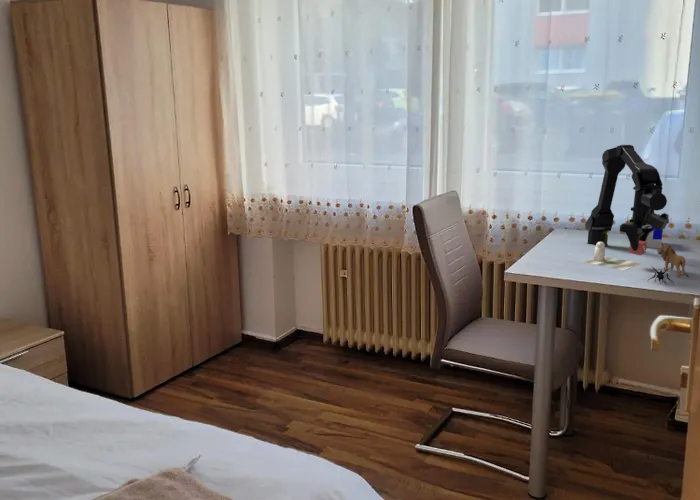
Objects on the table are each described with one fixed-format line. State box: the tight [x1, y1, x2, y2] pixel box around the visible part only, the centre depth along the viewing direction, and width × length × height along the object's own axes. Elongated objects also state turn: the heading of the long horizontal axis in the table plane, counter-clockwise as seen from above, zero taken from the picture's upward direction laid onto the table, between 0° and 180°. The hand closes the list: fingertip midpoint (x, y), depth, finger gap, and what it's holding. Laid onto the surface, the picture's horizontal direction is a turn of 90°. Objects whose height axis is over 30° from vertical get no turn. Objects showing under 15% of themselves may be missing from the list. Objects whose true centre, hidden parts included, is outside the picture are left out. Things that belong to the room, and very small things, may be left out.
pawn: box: [593, 242, 607, 261], centre depth 242 cm, size 4×4×7 cm
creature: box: [647, 265, 675, 286], centre depth 217 cm, size 8×5×8 cm
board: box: [584, 255, 641, 271], centre depth 239 cm, size 15×14×1 cm
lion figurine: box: [656, 243, 690, 278], centre depth 228 cm, size 15×5×9 cm, turn 15°
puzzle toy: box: [628, 216, 664, 249], centre depth 268 cm, size 10×10×10 cm
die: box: [629, 241, 648, 256], centre depth 232 cm, size 4×4×4 cm
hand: (637, 249), depth 232 cm, fingers open, 4 cm apart
